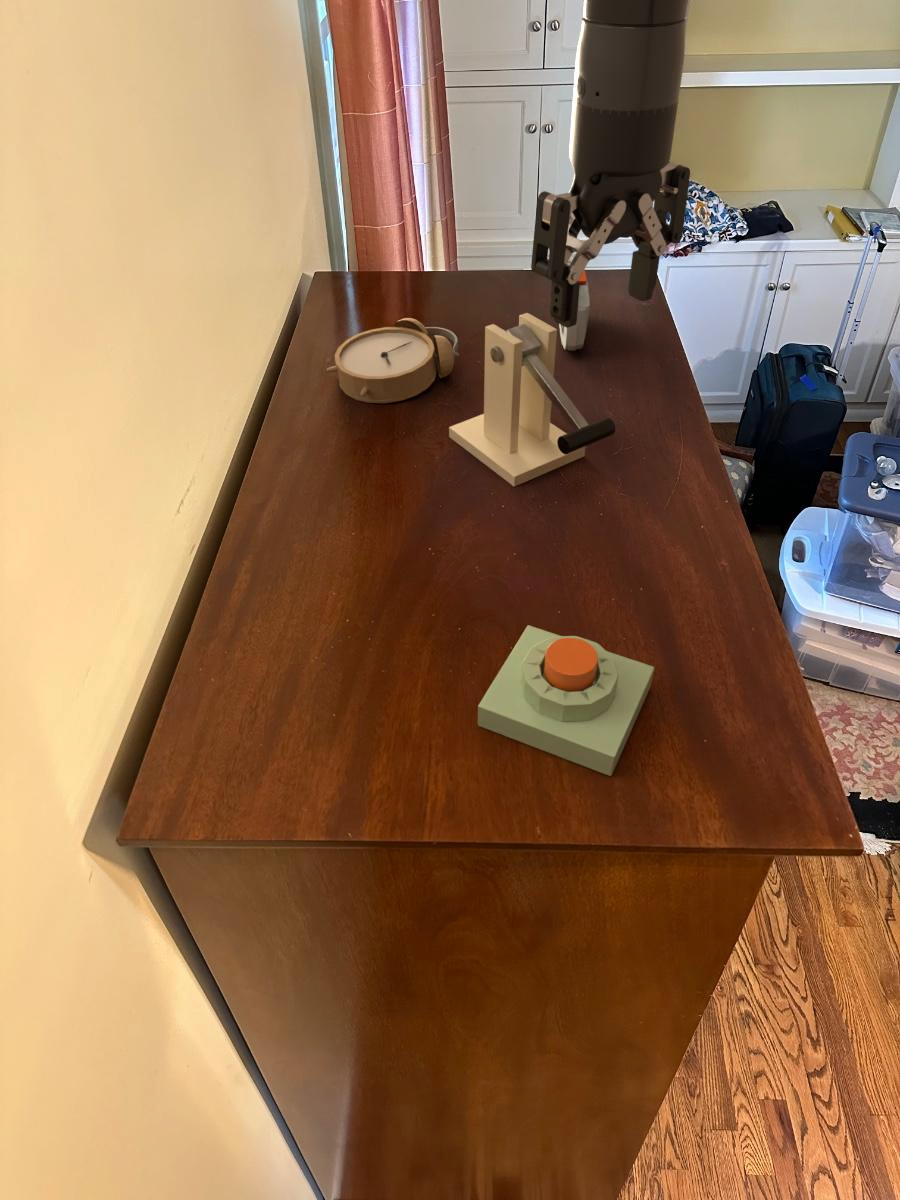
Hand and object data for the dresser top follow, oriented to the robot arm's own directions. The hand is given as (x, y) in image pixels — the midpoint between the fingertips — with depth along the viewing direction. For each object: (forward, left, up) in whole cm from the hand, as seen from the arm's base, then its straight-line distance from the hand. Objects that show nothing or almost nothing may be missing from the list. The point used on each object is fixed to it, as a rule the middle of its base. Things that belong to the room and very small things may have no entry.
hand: (602, 310), depth 73 cm
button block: (-9, +28, -17) cm, 34 cm away
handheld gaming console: (+12, -28, -17) cm, 35 cm away
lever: (+4, 0, -9) cm, 10 cm away
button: (-9, +28, -13) cm, 32 cm away
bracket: (+8, -2, -17) cm, 19 cm away
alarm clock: (+26, -10, -17) cm, 33 cm away
